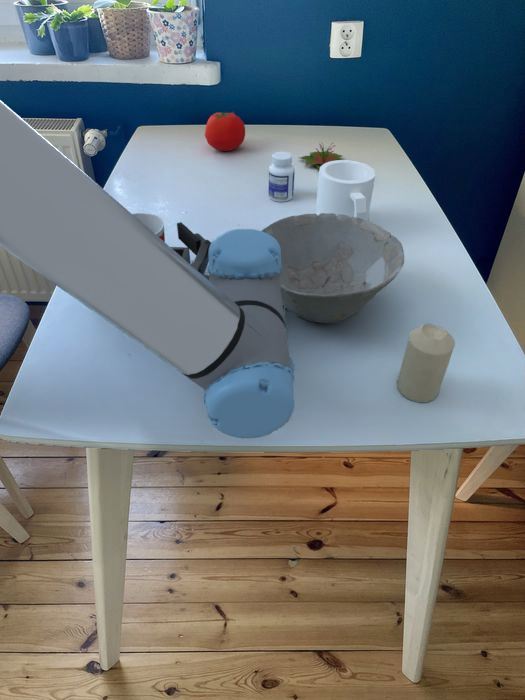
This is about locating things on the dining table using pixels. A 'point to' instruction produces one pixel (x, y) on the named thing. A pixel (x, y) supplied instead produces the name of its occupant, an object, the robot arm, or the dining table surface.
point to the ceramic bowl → (333, 264)
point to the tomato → (225, 131)
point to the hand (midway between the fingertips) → (140, 241)
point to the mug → (345, 188)
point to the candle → (425, 363)
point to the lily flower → (321, 157)
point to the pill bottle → (281, 177)
